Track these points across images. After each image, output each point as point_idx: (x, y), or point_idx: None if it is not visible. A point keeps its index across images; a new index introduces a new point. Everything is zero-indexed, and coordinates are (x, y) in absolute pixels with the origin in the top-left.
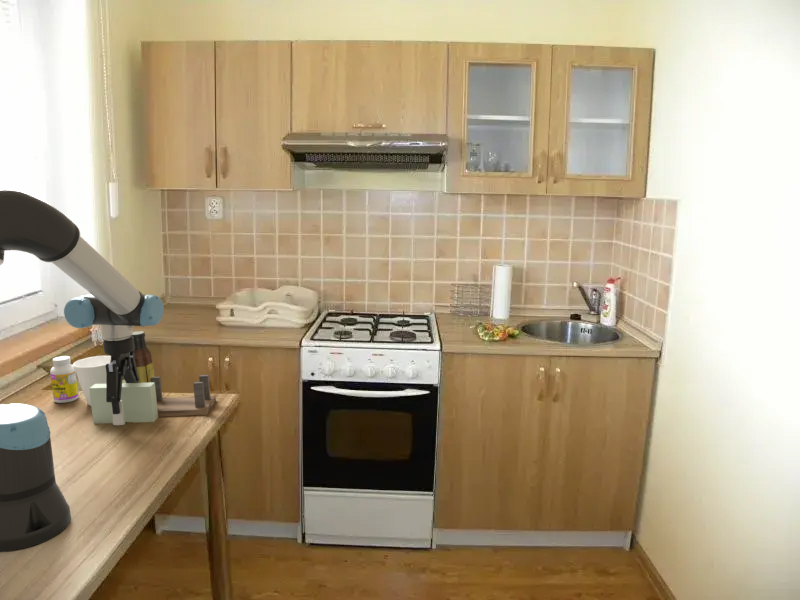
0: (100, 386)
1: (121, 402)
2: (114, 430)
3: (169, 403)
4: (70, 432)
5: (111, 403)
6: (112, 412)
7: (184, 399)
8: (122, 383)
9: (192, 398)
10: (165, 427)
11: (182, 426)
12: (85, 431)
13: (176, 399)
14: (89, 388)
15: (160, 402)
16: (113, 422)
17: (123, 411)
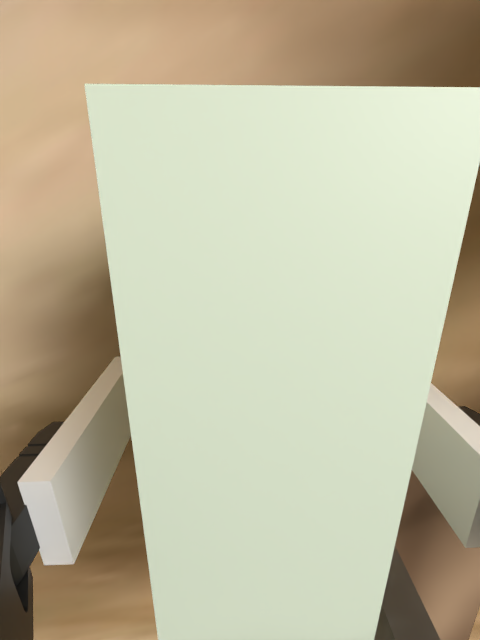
0: (225, 351)
1: (53, 551)
2: (87, 366)
3: (401, 545)
4: (19, 68)
5: (33, 469)
6: (78, 409)
7: (446, 587)
8: (363, 629)
9: (450, 611)
10: (141, 564)
11: (154, 613)
12: (53, 187)
13: (460, 556)
14: (94, 90)
15: (433, 501)
16: (108, 367)
17: (114, 470)
